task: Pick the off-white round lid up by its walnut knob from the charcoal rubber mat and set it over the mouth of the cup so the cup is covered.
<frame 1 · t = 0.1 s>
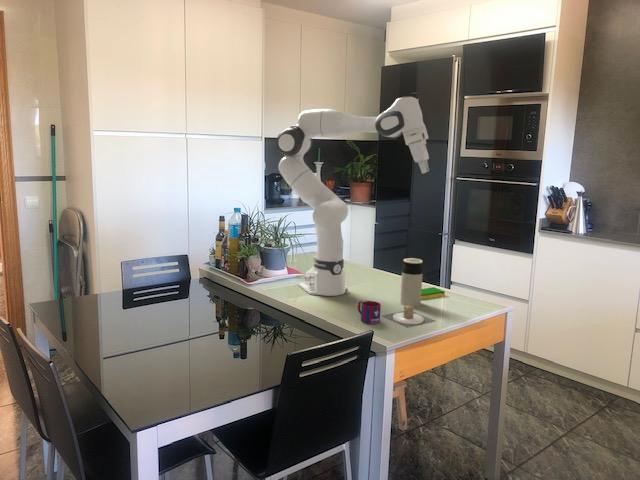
hand: (425, 172, 201), 52 cm above the table, tool tilted 20°, fingers open, 8 cm apart
cover lid: (408, 319, 187), resting on drying mat
drying mat: (408, 319, 189), on the table
cup: (367, 321, 186), on the table
dish sponge: (426, 296, 219), on the table
travel mug: (410, 304, 206), on the table
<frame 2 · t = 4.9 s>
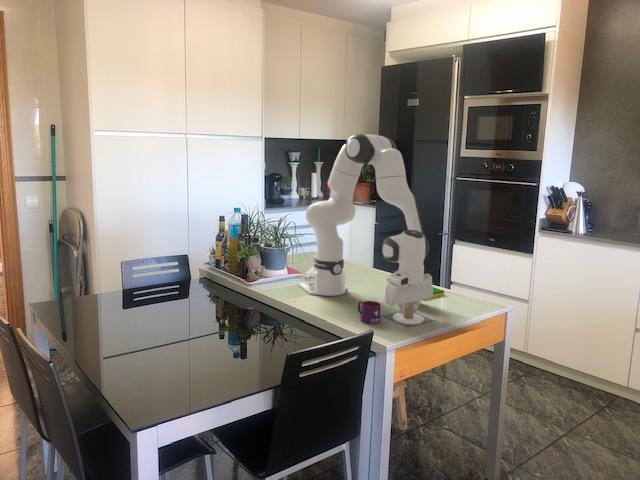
hand: (408, 313, 187), 3 cm above the table, tool pointing down, fingers closed on cover lid, 4 cm apart
cover lid: (408, 319, 187), resting on drying mat, touching gripper
everything else where it was.
when the fingers open (11 cm above the table, at t = 8.9 s): cover lid drops 2 cm, resting on cup.
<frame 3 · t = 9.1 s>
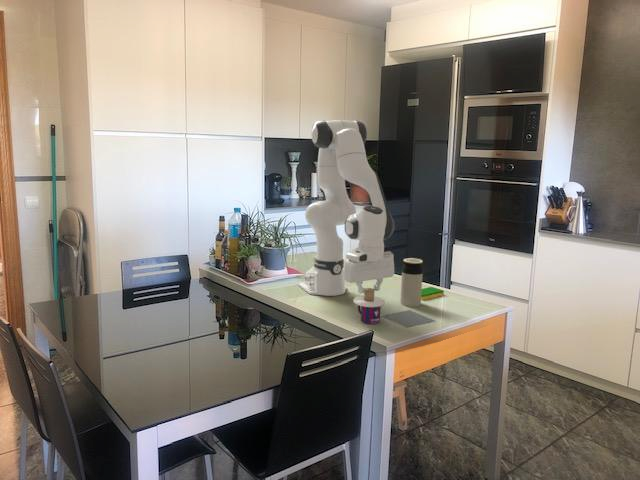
hand: (369, 291, 184), 11 cm above the table, tool pointing down, fingers open, 5 cm apart
cover lid: (368, 302, 185), point 7 cm above the table, touching cup
cup: (367, 321, 186), on the table, touching cover lid
everything else where it was.
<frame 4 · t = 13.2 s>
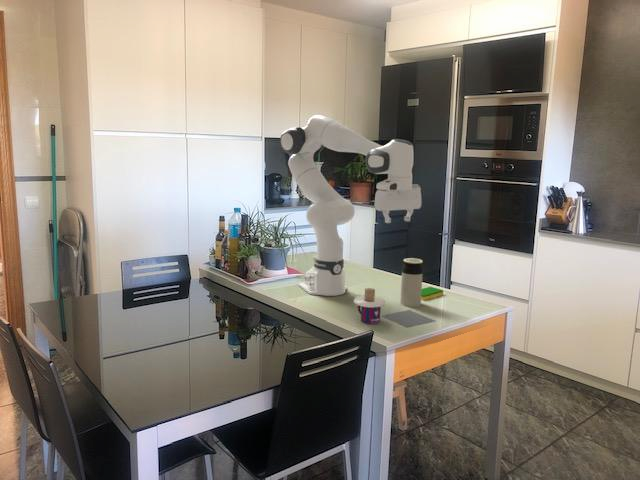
hand: (397, 221, 192), 34 cm above the table, tool pointing down, fingers open, 8 cm apart
nothing on the table moved.
at the end: cover lid inside the target area on the cup (0.2 cm from its centre), point 7.0 cm above the cup's base; the gripper is holding nothing; cup tilted 0° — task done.
